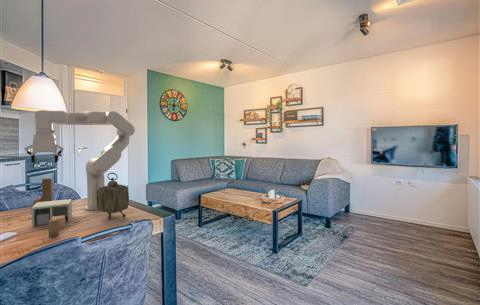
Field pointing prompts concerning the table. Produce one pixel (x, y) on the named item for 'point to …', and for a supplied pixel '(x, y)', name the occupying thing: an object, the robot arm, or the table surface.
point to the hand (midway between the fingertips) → (45, 162)
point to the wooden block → (45, 191)
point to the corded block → (56, 225)
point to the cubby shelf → (52, 209)
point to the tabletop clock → (112, 197)
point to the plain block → (43, 218)
